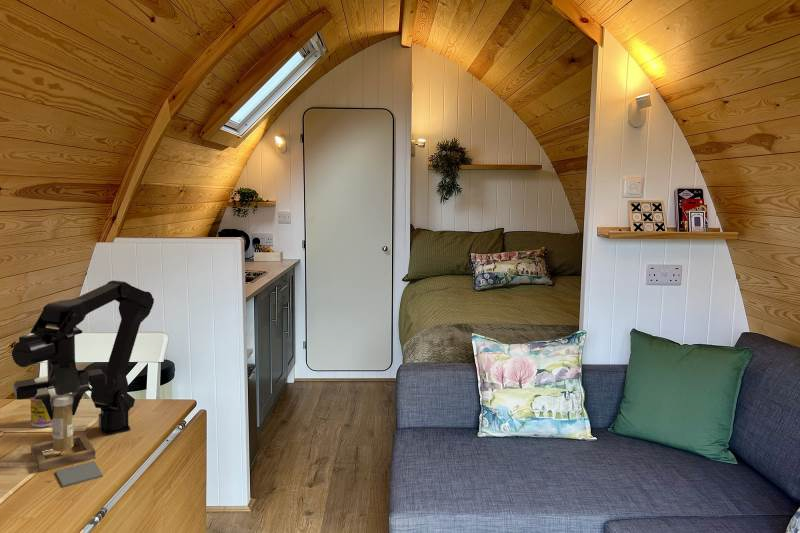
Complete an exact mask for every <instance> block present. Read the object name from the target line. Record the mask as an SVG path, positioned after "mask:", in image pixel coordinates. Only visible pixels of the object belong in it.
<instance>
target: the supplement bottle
mask: <svg viewBox="0 0 800 533" xmlns="http://www.w3.org/2000/svg"><path fill="white" fill-rule="evenodd" d="M34 381H35V382H36V383H39V382H45V381H48V375H46V376H40V377H37V378H35V379H34ZM48 393H49V394H50V401H51V398H52V397H53V396H54V395H57V394H56V393H55V389H54V388H52V389H48ZM51 407H52V405H51ZM30 424H31V426H32V427H34V428H47V427H46V426H49V427H51V425H52V420H51V419H50V417H49V415H48V413H47V410H46V408H45V406H44V404H43V402H42V400H41V399H38V400H37V399H35V398H34V397H32V398H30Z"/></svg>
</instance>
